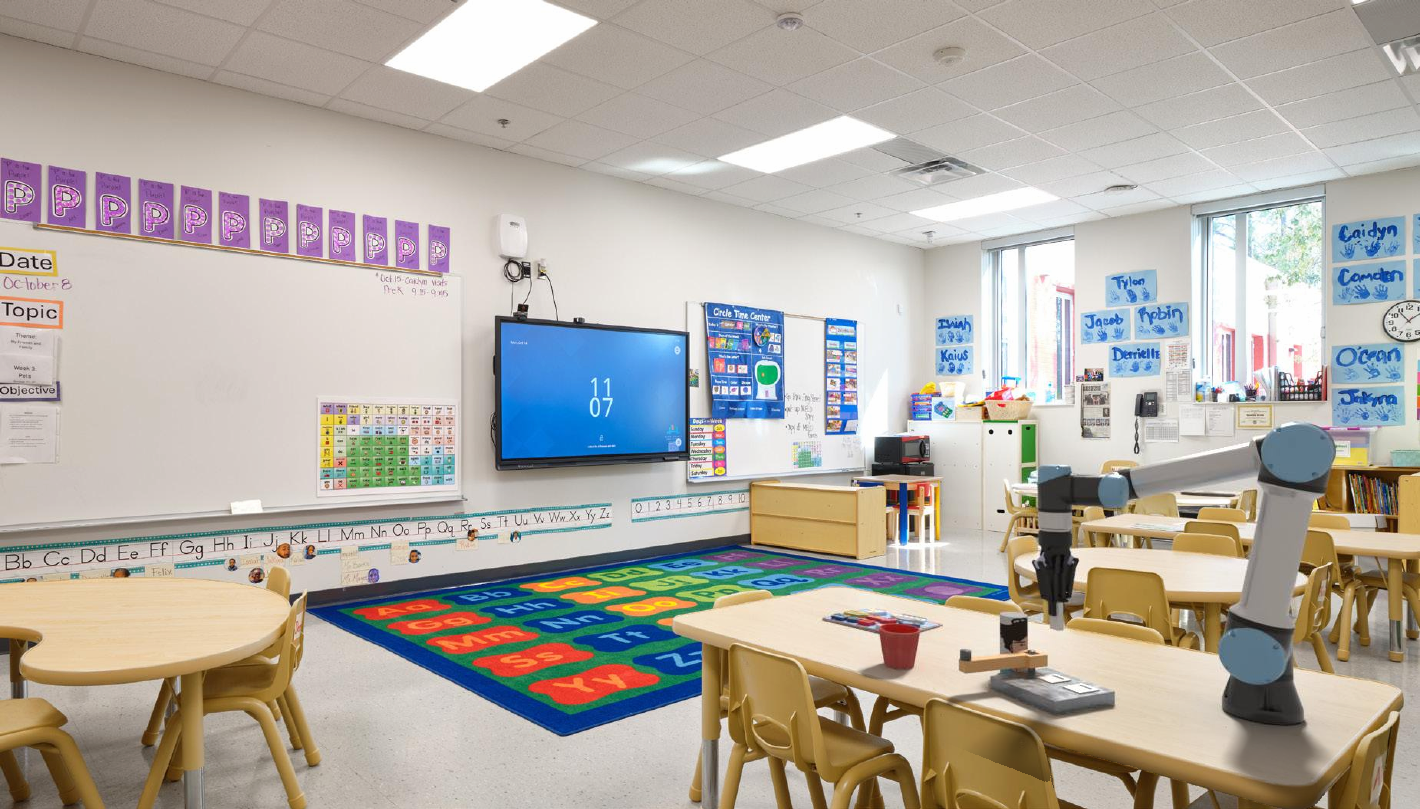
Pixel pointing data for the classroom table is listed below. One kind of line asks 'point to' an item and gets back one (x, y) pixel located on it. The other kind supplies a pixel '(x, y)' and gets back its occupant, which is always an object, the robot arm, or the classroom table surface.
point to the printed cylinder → (1013, 636)
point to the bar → (1000, 661)
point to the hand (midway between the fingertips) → (1056, 629)
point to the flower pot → (899, 645)
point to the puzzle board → (878, 620)
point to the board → (1052, 690)
